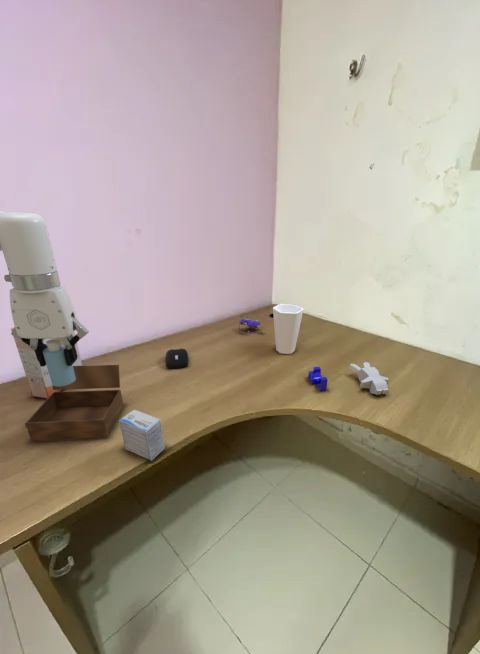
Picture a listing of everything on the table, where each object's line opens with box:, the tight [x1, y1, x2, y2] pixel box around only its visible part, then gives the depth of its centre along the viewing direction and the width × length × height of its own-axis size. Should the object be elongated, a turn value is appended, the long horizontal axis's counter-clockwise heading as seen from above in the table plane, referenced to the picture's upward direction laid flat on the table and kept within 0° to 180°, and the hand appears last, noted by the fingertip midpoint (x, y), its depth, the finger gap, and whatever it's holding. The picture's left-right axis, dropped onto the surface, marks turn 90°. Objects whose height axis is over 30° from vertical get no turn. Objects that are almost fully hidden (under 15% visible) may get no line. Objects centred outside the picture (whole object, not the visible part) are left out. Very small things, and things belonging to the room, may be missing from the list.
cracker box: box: [10, 327, 83, 400], centre depth 88 cm, size 14×6×21 cm, turn 170°
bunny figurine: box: [348, 361, 390, 396], centre depth 99 cm, size 10×5×15 cm
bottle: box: [43, 339, 76, 386], centre depth 68 cm, size 5×5×10 cm
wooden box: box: [25, 389, 124, 442], centre depth 77 cm, size 17×13×5 cm
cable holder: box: [307, 366, 329, 392], centre depth 98 cm, size 8×4×4 cm, turn 10°
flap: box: [53, 364, 121, 391], centre depth 81 cm, size 16×6×1 cm
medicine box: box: [119, 409, 166, 462], centre depth 69 cm, size 8×4×9 cm, turn 65°
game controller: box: [238, 315, 264, 335], centre depth 136 cm, size 10×8×10 cm
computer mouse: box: [165, 348, 189, 369], centre depth 109 cm, size 8×12×4 cm, turn 15°
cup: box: [272, 303, 304, 355], centre depth 117 cm, size 11×10×17 cm
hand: (59, 362), depth 68 cm, fingers closed on bottle, 4 cm apart
